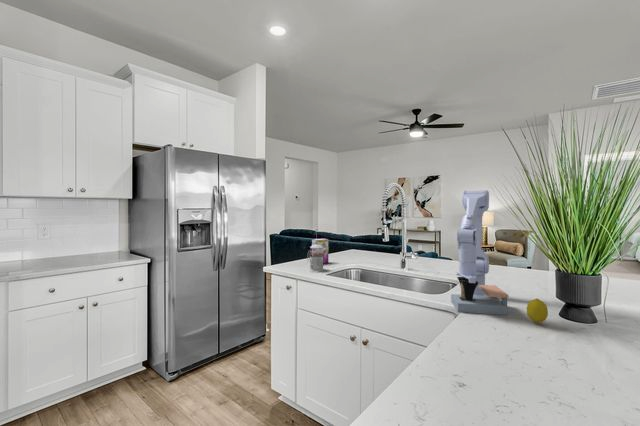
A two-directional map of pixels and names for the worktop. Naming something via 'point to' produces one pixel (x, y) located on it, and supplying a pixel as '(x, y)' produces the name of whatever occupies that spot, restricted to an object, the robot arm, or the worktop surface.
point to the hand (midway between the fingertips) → (467, 298)
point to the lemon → (537, 311)
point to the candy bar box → (322, 250)
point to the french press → (316, 258)
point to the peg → (463, 294)
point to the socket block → (483, 301)
